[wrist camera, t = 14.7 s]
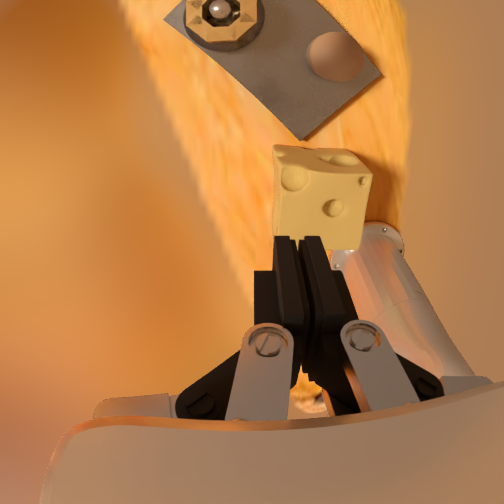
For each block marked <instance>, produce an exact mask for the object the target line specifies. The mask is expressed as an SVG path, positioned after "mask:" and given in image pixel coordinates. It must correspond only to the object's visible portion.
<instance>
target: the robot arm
mask: <svg viewBox="0 0 504 504" xmlns="http://www.w3.org/2000/svg"><path fill="white" fill-rule="evenodd" d="M403 255H404V244H403V240H402V238H401V236H400V234H399V233H398V232H397V230H396V229H394V228H393V227H392V226H390V225H389V224H387V223H383V222H377V221H371V222H365V223H364V228H363V234H362V239H361V244H360V247H359V250H332V252H331V256H330V263H329V260H328V258H327V255H326V252H325V249H324V246H323V243H322V240H321V237H320V236H304V240H301V239H299V243H298V250H297V245H296V241H295V239H290V236H274V248H273V268H272V271H254V326H253V327H251V328H250V329H249V330H248V331H247V332H246V333H245V335H244V337H243V341H242V345H241V349H240V350H239V351H238V352H236V353H235V354H234V355H233V356H231V357H230V358H229V359H227V360H226V361H224V362H223V363H222V364H220V365H219V366H217V367H216V368H215V369H213V370H212V371H210V372H209V373H208V374H206V375H205V376H203V377H202V378H201V379H199V380H198V381H196V382H195V383H194V384H192V385H191V386H189V387H188V388H186V389H185V390H184V391H183V392H182V393H181V394H180V395H172V396H169V394H168V393H164V394H156V395H145V396H134V397H120V398H110V399H105V400H103V401H102V402H100V403H99V404H98V405H97V407H96V408H95V410H94V414H93V420H89V421H85V422H83V423H80V424H77V425H75V426H73V427H71V428H70V429H69V430H67V431H66V432H65V433H64V434H63V435H62V437H61V438H60V440H59V442H58V443H57V445H56V447H55V450H54V452H53V454H52V457H51V460H50V462H49V466H48V469H47V472H46V475H45V479H44V484H43V488H42V492H41V496H40V501H39V504H504V382H496V383H493V382H492V381H491V380H490V379H488V378H487V377H483V376H475V374H474V372H473V371H472V369H471V367H470V366H469V365H468V363H467V362H466V360H465V359H464V358H463V356H462V355H461V353H460V352H459V351H458V349H457V348H456V346H455V345H454V343H453V342H452V340H451V339H450V337H449V335H448V334H447V332H446V330H445V329H444V327H443V325H442V323H441V322H440V320H439V318H438V316H437V314H436V313H435V311H434V309H433V307H432V305H431V304H430V302H429V300H428V298H427V296H426V295H425V293H424V291H423V289H422V288H421V286H420V284H419V283H418V281H417V279H416V278H415V276H414V274H413V273H412V271H411V269H410V268H409V266H408V264H407V263H406V261H405V260H404V258H403ZM330 265H331V266H330ZM348 288H349V289H348ZM349 291H350V292H349ZM350 293H351V295H350ZM351 296H352V298H351ZM352 299H353V301H352ZM353 302H354V303H353ZM354 305H355V306H354ZM355 308H356V309H355ZM356 311H357V312H356ZM357 314H358V315H357ZM358 317H359V318H358ZM301 365H302V371H303V373H308V378H309V381H315V383H316V384H317V385H319V386H320V387H322V395H323V398H324V401H325V404H326V407H327V410H328V414H327V416H326V417H323V418H310V419H296V420H287V416H288V406H289V395H290V389H291V388H293V387H294V386H295V385H296V382H297V378H298V373H299V370H300V366H301Z"/></svg>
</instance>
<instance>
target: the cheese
mask: <svg viewBox="0 0 504 504" xmlns="http://www.w3.org/2000/svg"><path fill="white" fill-rule="evenodd" d="M272 154H273V161H274V195H273V207H272V233H273V239H274V236H290V239H295V241H296V245H297V250H298V243H299V239H301V240H304V236H320V237H321V240H322V243H323V246H324V249H325V250H359V247H360V244H361V239H362V234H363V228H364V220H365V214H366V207H367V202H368V198H369V193H370V189H371V184H372V179H373V174H372V172H371V171H370V170H369V169H368V168H367V167H366V166H365V165H364V164H363V163H362V162H361V161H360V160H359V159H358V158H357V157H356V156H355V155H354V154H353V153H351V152H350V151H348V150H347V149H334V148H317V149H312V150H311V149H304V148H302V147H298V146H286V145H273V148H272Z"/></svg>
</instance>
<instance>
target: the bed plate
mask: <svg viewBox="0 0 504 504" xmlns="http://www.w3.org/2000/svg"><path fill="white" fill-rule="evenodd" d="M186 1H187V0H182V1H181V2H180V3H179V4H178V5H177V6H176V7H175V8H174V9H173V10H172V11H171V12H170V13H169V14H168V15H167V16H166V17H165V18H164V19H163V20H164V21H165V22H167V23H168V24H169V25H171V26H172V27H173V28H175V29H176V30H177V31H179V32H180V33H181V34H183V35H184V36H185V37H186V38H188V39H189V40H190V41H192V42H193V43H194V44H195V45H197V46H198V47H199V48H200V49H201V50H203V51H204V52H205V53H206V54H208V55H209V56H210V57H211V58H212V59H214V60H215V61H216V62H217V63H218V64H219V65H221V66H222V67H223V68H224V69H225V70H226V71H227V72H229V73H230V74H231V75H232V76H233V77H234V78H235V79H237V80H238V81H239V82H240V83H241V84H242V85H243V86H244V87H245V88H246V89H248V90H249V91H250V92H251V93H252V94H253V95H254V96H255V97H256V98H257V99H258V100H259V101H260V102H261V103H262V104H263V105H264V106H266V107H267V108H268V109H269V110H270V111H271V112H272V113H273V114H274V115H275V116H276V117H277V118H278V119H279V120H280V121H281V122H282V123H283V124H284V125H285V126H286V127H287V128H288V129H289V130H290V131H291V132H292V133H293V134H294V135H295V137H296V138H297V139H298V140H299V141H301V140H302V139H303V138H305V137H306V136H307V135H308V134H309V133H310V132H312V131H313V130H314V129H315V128H316V127H317V126H319V125H320V124H321V123H322V122H323V121H324V120H326V119H327V118H328V117H329V116H330V115H332V114H333V113H334V112H335V111H336V110H338V109H339V108H340V107H341V106H342V105H344V104H345V103H346V102H347V101H349V100H350V99H351V98H352V97H353V96H355V95H356V94H357V93H358V92H360V91H361V90H362V89H363V88H365V87H366V86H367V85H368V84H370V83H371V82H372V81H373V80H375V79H376V78H377V77H378V76H380V75H381V73H380V72H379V70H378V69H377V68H376V67H375V65H374V64H373V63H372V62H371V60H370V59H369V58H368V57H367V55H366V54H365V53H364V52H363V55H364V63H363V67H362V69H361V71H360V72H359V74H358V75H357V76H356V77H354V78H353V79H351V80H348V81H342V82H339V81H332V80H327V79H324V78H322V77H320V76H318V75H317V74H315V73H314V72H313V71H312V69H311V68H310V66H309V64H308V61H307V55H306V54H307V49H308V46H309V44H310V43H311V42H312V40H314V39H315V38H316V37H318V36H320V35H323V34H325V33H328V32H342V33H345V34H347V32H346V31H345V30H344V29H343V28H342V27H341V26H340V25H339V24H338V23H337V22H336V21H335V20H334V19H333V18H332V17H331V16H330V15H329V14H328V13H327V12H326V11H325V10H324V9H323V8H322V7H321V6H320V5H319V4H318V3H317V2H316V1H315V0H261V1H262V3H263V6H264V10H265V20H264V24H263V27H262V30H261V32H260V33H259V35H258V36H257V37H256V39H255V40H253V41H252V42H251V43H250V44H248V45H247V46H245V47H243V48H241V49H238V50H235V51H230V52H217V51H212V50H208V49H206V48H203V47H201V46H200V45H198V44H197V43H195V42H194V41H193V40H192V39H191V38H190V37H189V35H188V34H187V32H186V30H185V27H184V23H183V15H184V10H185V7H186ZM347 35H348V34H347Z"/></svg>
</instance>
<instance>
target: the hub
mask: <svg viewBox="0 0 504 504" xmlns="http://www.w3.org/2000/svg"><path fill="white" fill-rule="evenodd" d="M239 17H240V8H239V7H238V6H237V5H236V4H234V3H233V2H232V1H225V0H216V1H214V2H212V3H211V5H210V7H209V9H208V10H207V23H209V24H210V25H211V26H212V27H225V26H230V25H231V24H232V23H233V22H234V21H236V20H237V19H238V18H239ZM264 20H265V10H264V6H263V3H262V1H261V0H257V24H256V27H255V28H254V29H253V30H252V31H250V32H249V33H248V34H247V35H246V36H245V37H244V38H242V39H241V40H240V41H239V42H238V43H224V44H210V43H208V42H206V41H205V40H204V39H203V38H201V37H200V36H199V35H198V34H196V33H195V32H194V31H193V30H191V29H190V28H189V27H187V26H186V7H185V10H184V15H183V23H184V27H185V30H186V32H187V34H188V35H189V37H190V38H191V39H192V40H193V41H194V42H195V43H197V44H198V45H200V46H201V47H203V48H206V49H208V50H212V51H217V52H230V51H235V50H238V49H241V48H243V47H245V46H247V45H248V44H250V43H251V42H252V41H253V40H255V39H256V37H257V36H258V35H259V33H260V32H261V30H262V27H263V24H264Z"/></svg>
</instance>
